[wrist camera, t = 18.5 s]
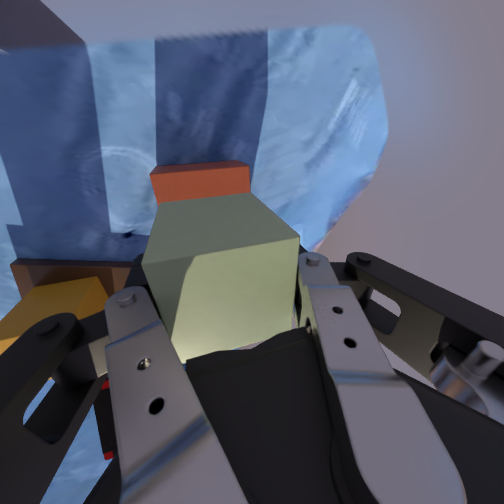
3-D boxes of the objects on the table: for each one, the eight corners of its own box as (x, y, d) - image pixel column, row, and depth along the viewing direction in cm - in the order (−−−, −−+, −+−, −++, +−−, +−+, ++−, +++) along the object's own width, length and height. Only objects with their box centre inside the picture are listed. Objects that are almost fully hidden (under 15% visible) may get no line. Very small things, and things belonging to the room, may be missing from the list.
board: (52, 362, 24) (47, 371, 23) (17, 258, 17) (9, 264, 17) (209, 346, 30) (210, 353, 29) (224, 265, 24) (226, 270, 23)
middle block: (180, 278, 13) (179, 365, 8) (159, 202, 11) (139, 263, 6) (253, 263, 14) (291, 332, 9) (251, 191, 12) (301, 235, 7)
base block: (175, 240, 21) (173, 261, 17) (155, 166, 17) (148, 173, 14) (242, 230, 22) (252, 247, 19) (237, 159, 19) (249, 165, 15)
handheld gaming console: (87, 386, 25) (124, 354, 34) (107, 491, 24) (139, 427, 34) (167, 361, 26) (181, 337, 36) (189, 457, 26) (197, 406, 35)
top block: (62, 325, 20) (23, 386, 16) (33, 286, 18) (-25, 345, 13) (117, 313, 22) (97, 367, 17) (97, 275, 19) (66, 325, 14)
